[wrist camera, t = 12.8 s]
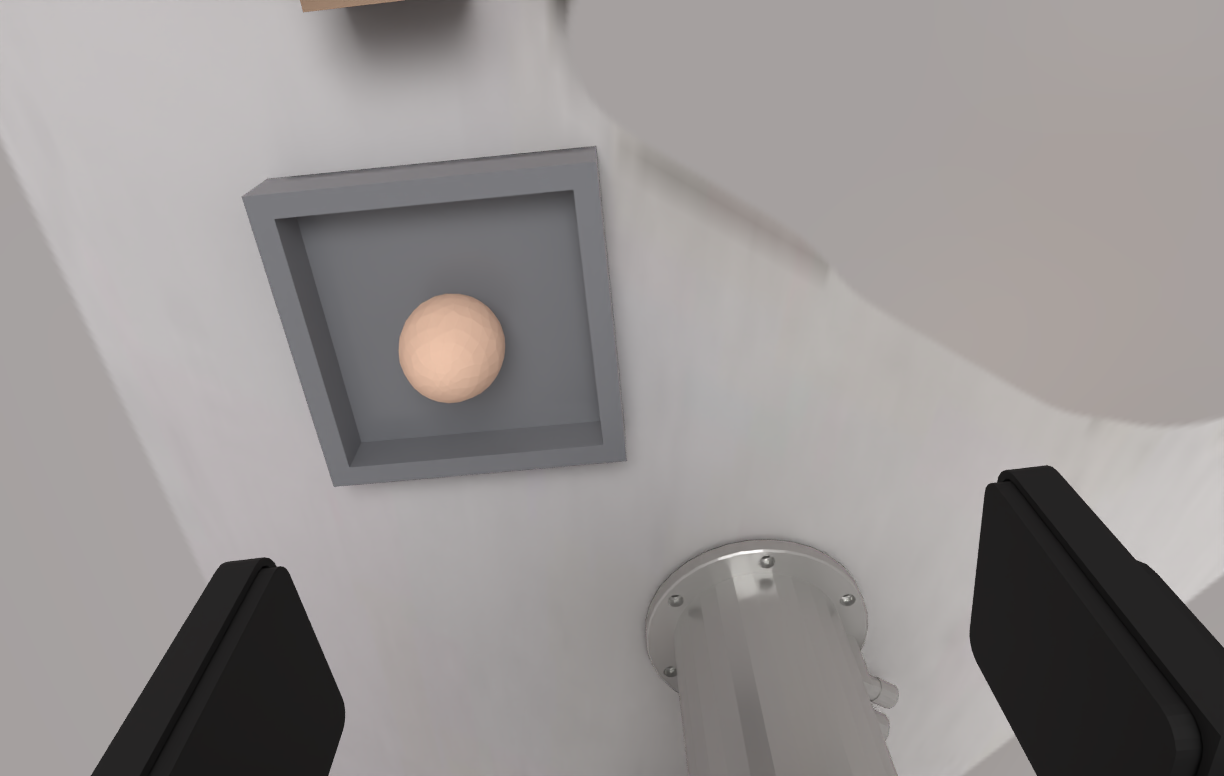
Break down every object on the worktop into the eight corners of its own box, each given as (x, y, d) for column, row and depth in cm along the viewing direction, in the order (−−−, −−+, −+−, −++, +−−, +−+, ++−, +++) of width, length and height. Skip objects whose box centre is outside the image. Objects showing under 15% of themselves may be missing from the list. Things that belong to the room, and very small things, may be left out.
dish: (624, 429, 40) (626, 461, 38) (349, 454, 41) (333, 486, 38) (595, 146, 34) (596, 161, 31) (267, 178, 34) (241, 196, 32)
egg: (452, 381, 38) (430, 446, 33) (392, 308, 36) (360, 364, 31) (529, 336, 37) (519, 396, 32) (472, 258, 35) (451, 308, 30)
